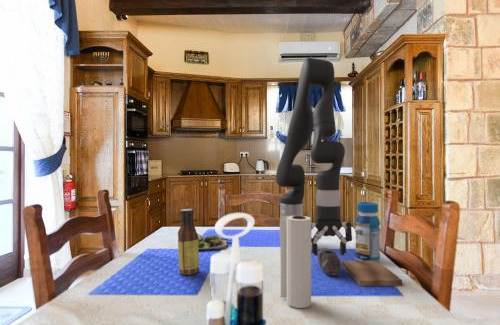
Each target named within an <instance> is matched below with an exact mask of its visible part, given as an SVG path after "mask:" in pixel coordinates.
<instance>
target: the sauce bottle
mask: <svg viewBox="0 0 500 325" xmlns="http://www.w3.org/2000/svg"><path fill="white" fill-rule="evenodd" d="M179 214H180V221H181V222H180V226H179V229H178V231H177V239H178V240H177V246H178V247H177V250H178V251H177V253H178V269H179V273H180V274H181V275H184V276H194V275H195V274H197V273H199V271H200V269H199V266H200V258H199V256H200V254H199V252H200V251H199V250H198V235H197V233H198V232H197V230H196V225H195V224H194V209H192V208H182V209H180V210H179Z"/></svg>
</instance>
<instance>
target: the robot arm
mask: <svg viewBox="0 0 500 325" xmlns="http://www.w3.org/2000/svg"><path fill="white" fill-rule="evenodd" d="M310 86H313V87H320V88H321V89H322V93H321V94H322V95H321V96H320V99H319V100H318V101H317V103H316V105H315V107H314V109H312V107H311V104H310V100H309V92H310ZM334 94H335V67H334V64H333V63H332V62H331V61H329V60H325V59H320V58H313V57H307V58H305V60H304V61H303V63H302V65H301V68H300V73H299V79H298V85H297V90H296V97H295V100H294V101H295V102H294V105H293V109H292V114H291V117H290V122H289V125H288V129H287V130H288V131H287V134H286V138H285V139H286V140H285V143H284V148H283V151H282V153H281V157H280V160H279V163H278V166H277V169H276V175H275V180H276V184H277V185H278V187H280V188H281V187H282V188H289V190H288V191H287V192H286V193H284V194H282V195H280V199H279V201H280V205H279V206H280V207H279V208H280V209H279V210H280V217H279V244H280V245H281V216H304V213H303V208H304V205H303V202H304V201H303V200H304V197H305V183H306V174H305V170H304V168H303V166H302V165H300V164H294V161H295V160H296V157H297V156H298V154H299V153H300V152H301V151H302V150H303V148H305V146H307V144H308V143H309V142H310V140H311V138H312V134H313V139H312V145H311V149H310V157H311V160H312V162H313V163H315V164H331V166H330V168H329V169H326V170H321V171H318V172H317V174H316V194H315V201H316V202H315V210H316V211H315V212H316V213H315V216H316V219H315V222H311V231H312V230H314V228H316V229H317V231H316V232H315V233H314V235H313V237H311V254H313V255H314V256H315V257H317V255H318V241H319V240H321V238H322V237H329V236H330V237H335V236H336V237H337V238H338V239H339V254H340V255H341V256H344V255H345V254H346V253H347V243H348V242H352V240H353V235H352V234H353V233H352V223H351V222H349V221H347V220H346V221H344V222H342V220H341V218H342V217H341V216H342V214H341V211H342V210H341V204H342V201H341V191H340V175H341V169H342V165H343V162H344V158H345V155H346V149H345V146H344V144H343V143H342V142H341V141H337V140H336V141H330V140H329V141H328V140H327V139H329V138H330V139H331V138H332V137H334V136H335V135H336V132H337V128H336V120H335V119H336V118H335V114H334V113H335V111H334V98H335V95H334ZM323 140H327V141H323ZM342 227H343V229H344V230H345V236H343V234H342V233H341V231H340V230H341V228H342Z"/></svg>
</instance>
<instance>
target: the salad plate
mask: <svg viewBox="0 0 500 325" xmlns="http://www.w3.org/2000/svg"><path fill="white" fill-rule="evenodd" d="M197 235H198V250H208V251H212V250H211V249H216V250H221V249H220V248H222V249H224V248H226V247H227V245H228V243H227V242H229V241H231V240H228V239H229V238H226V239H225V238H224V237H221V236H218V235H213V234H211V235H208V236H205V237H203V236H202V235H201V234H199V233H198V232H197ZM213 245H220V246H213ZM210 246H212V247H210Z"/></svg>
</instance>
